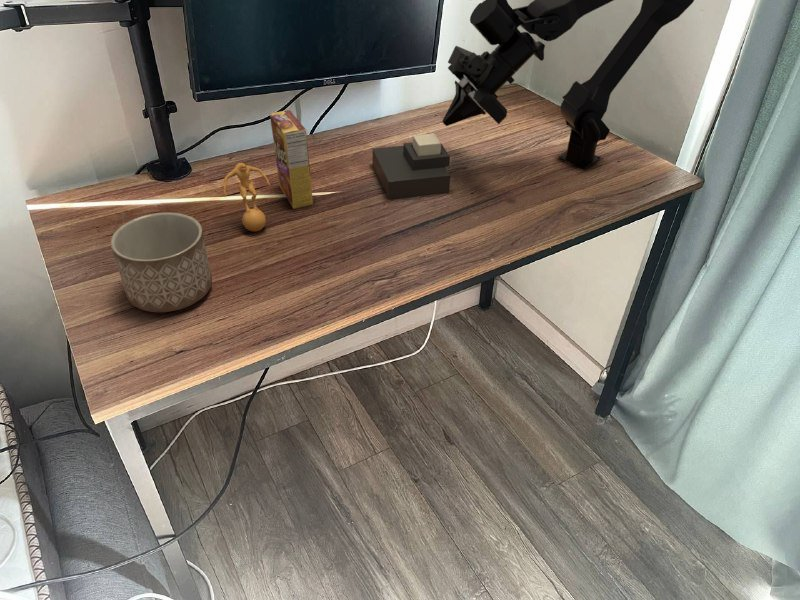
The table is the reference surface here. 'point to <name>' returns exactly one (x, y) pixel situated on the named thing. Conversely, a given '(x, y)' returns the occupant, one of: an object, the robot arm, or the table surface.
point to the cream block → (426, 145)
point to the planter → (162, 261)
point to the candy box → (292, 158)
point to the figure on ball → (251, 217)
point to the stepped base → (411, 171)
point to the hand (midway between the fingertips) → (444, 124)
